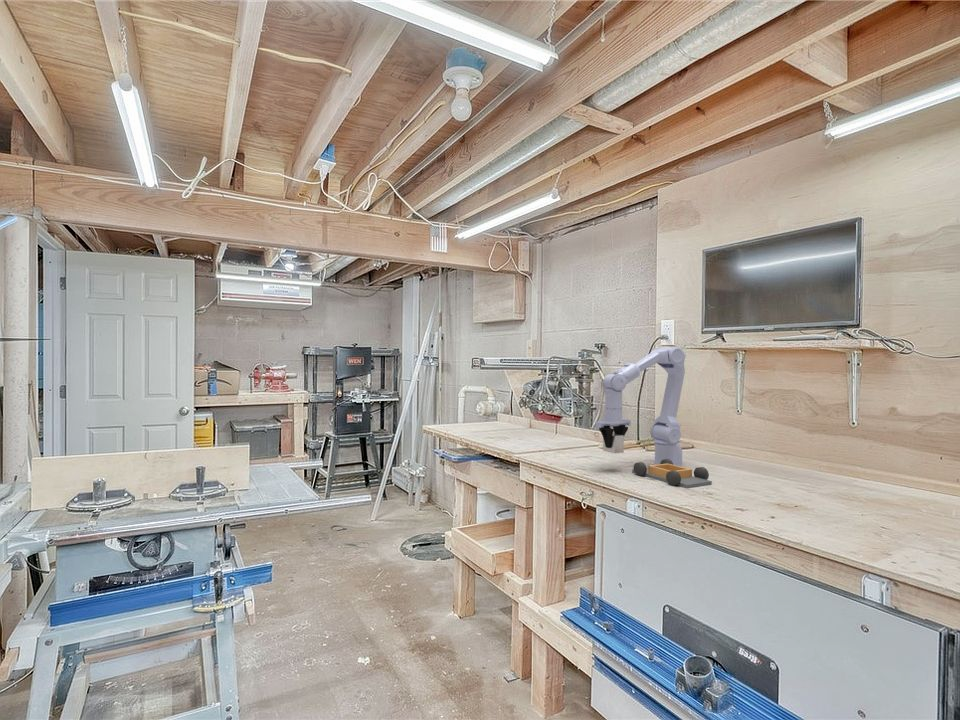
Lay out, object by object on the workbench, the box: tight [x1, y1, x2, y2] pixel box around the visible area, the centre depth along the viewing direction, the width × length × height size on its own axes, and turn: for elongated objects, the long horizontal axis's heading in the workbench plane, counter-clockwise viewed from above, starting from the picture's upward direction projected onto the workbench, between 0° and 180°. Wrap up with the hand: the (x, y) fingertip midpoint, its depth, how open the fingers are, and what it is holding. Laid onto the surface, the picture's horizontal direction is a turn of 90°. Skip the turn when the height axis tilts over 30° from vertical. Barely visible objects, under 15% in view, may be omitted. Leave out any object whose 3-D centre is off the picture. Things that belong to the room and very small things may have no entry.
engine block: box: [602, 432, 625, 454], centre depth 170 cm, size 4×6×6 cm, turn 27°
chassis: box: [631, 459, 713, 489], centre depth 160 cm, size 14×23×4 cm, turn 27°
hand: (613, 447), depth 170 cm, fingers closed on engine block, 4 cm apart
